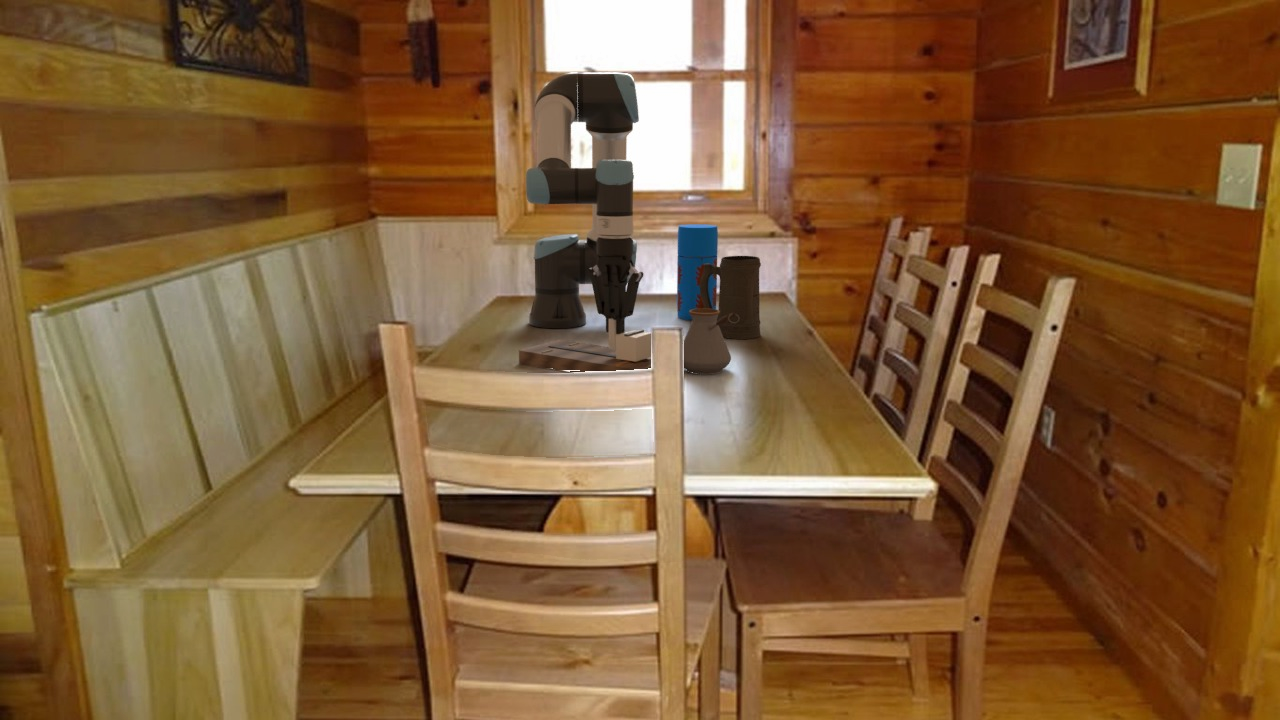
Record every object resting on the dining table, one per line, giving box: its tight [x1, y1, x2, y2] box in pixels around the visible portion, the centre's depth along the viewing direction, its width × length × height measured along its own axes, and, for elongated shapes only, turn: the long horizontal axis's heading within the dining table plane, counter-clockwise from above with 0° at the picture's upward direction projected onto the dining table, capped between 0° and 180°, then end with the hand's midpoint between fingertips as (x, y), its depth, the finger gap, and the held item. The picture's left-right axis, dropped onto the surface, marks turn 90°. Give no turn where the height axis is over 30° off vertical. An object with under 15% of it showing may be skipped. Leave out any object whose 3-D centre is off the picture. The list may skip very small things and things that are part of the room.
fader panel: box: [518, 339, 651, 372], centre depth 201 cm, size 32×14×3 cm, turn 55°
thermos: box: [676, 224, 719, 321], centre depth 258 cm, size 11×11×25 cm
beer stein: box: [700, 255, 762, 340], centre depth 234 cm, size 15×11×20 cm
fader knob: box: [616, 329, 652, 362], centre depth 195 cm, size 5×6×5 cm
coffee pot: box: [683, 308, 739, 376], centre depth 193 cm, size 21×12×15 cm, turn 18°
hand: (615, 348), depth 198 cm, fingers closed
